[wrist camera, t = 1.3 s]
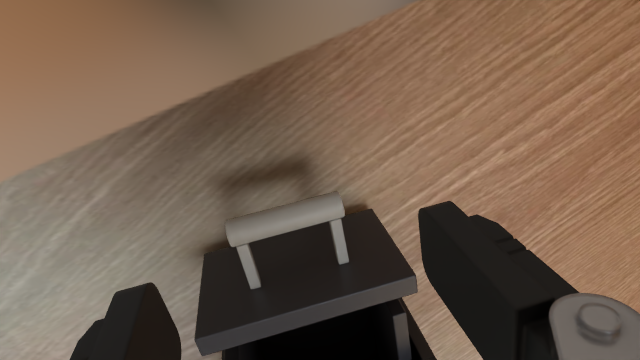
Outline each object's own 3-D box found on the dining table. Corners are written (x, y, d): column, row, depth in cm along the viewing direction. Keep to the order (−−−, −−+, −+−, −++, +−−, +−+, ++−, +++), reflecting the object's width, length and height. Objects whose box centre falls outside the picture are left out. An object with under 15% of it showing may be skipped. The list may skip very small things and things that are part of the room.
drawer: (181, 196, 24) (161, 270, 17) (363, 149, 25) (409, 203, 18) (256, 389, 32) (263, 490, 25) (392, 347, 33) (432, 434, 26)
